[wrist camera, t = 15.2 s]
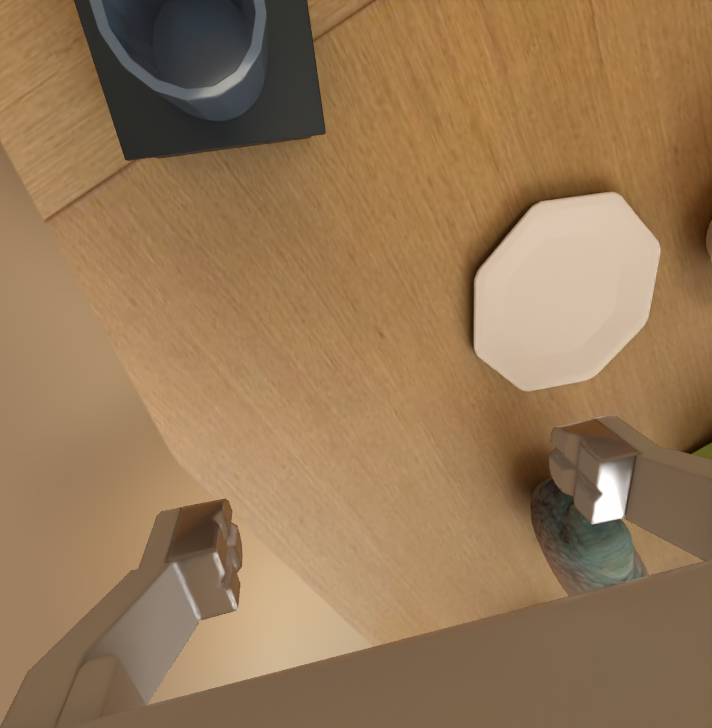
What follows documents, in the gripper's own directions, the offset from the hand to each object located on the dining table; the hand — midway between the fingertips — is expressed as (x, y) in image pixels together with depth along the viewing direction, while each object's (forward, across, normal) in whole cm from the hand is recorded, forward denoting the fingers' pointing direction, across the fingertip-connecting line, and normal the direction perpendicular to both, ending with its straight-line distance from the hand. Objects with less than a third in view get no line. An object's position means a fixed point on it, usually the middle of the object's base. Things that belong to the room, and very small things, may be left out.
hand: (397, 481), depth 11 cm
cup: (+23, +4, -14) cm, 27 cm away
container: (+31, +4, -14) cm, 34 cm away
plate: (+32, -25, +8) cm, 41 cm away
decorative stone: (+32, -25, +35) cm, 53 cm away
